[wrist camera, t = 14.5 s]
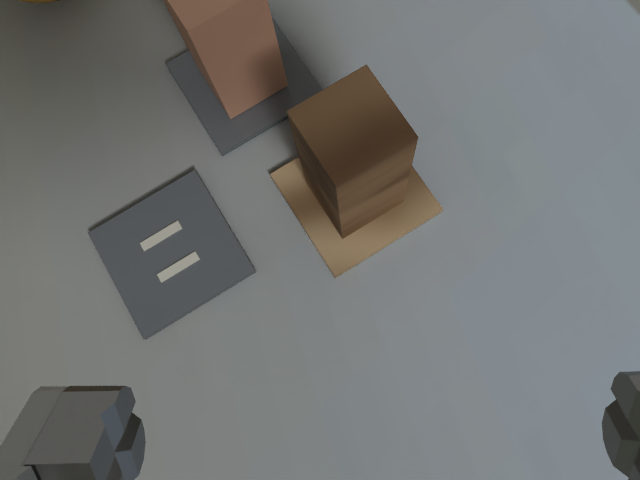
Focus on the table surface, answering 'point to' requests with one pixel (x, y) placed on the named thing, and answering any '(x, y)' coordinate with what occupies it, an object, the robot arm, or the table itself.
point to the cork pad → (366, 239)
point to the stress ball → (38, 1)
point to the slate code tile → (171, 254)
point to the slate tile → (255, 118)
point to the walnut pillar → (354, 150)
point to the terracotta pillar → (232, 48)
